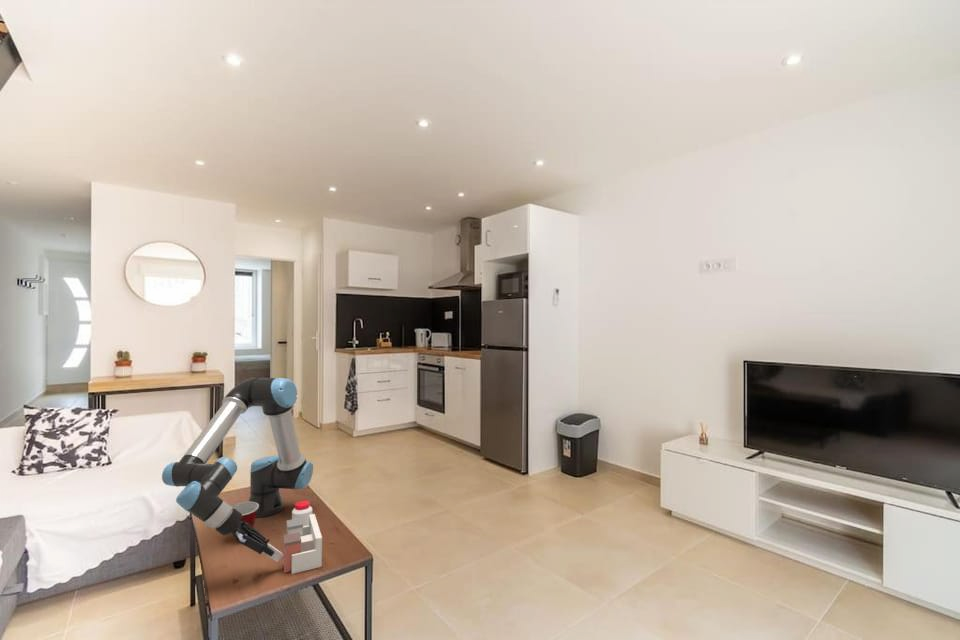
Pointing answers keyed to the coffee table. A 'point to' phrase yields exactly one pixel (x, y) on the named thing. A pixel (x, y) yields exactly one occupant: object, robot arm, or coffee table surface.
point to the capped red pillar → (290, 549)
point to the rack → (309, 548)
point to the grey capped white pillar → (295, 526)
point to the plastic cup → (247, 512)
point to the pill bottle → (302, 511)
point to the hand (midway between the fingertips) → (280, 557)
